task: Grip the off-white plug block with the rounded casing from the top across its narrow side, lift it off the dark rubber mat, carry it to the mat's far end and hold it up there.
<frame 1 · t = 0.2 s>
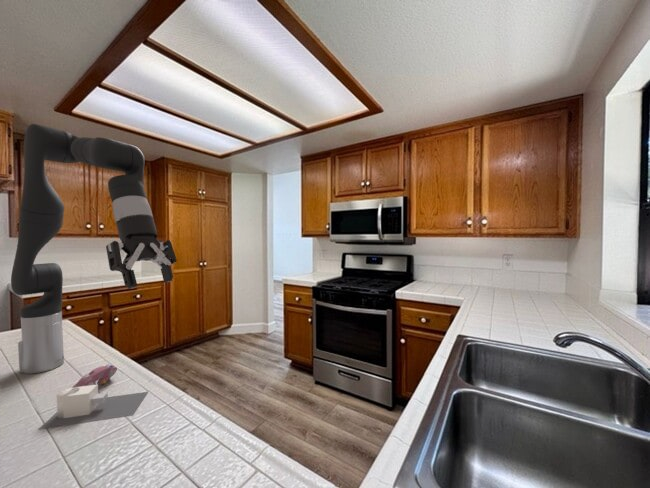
hand: (151, 284, 65), 31 cm above the countertop, tool tilted 20°, fingers open, 8 cm apart
rubber mat: (99, 410, 68), on the countertop
plug block: (79, 411, 66), resting on rubber mat
video game controller: (95, 388, 78), on the countertop
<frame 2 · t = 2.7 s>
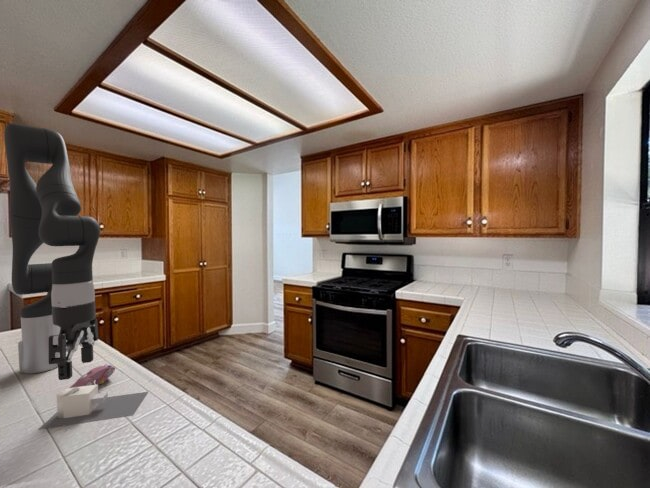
hand: (77, 369, 66), 11 cm above the countertop, tool pointing down, fingers open, 8 cm apart
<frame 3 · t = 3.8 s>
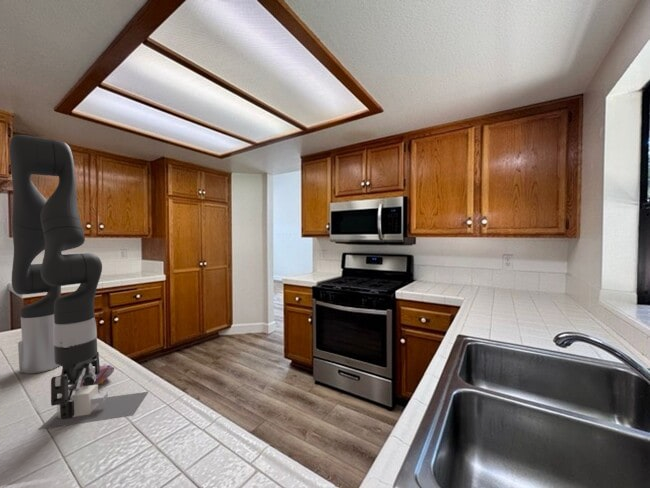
hand: (79, 406, 66), 2 cm above the countertop, tool pointing down, fingers open, 8 cm apart
nothing on the countertop moved.
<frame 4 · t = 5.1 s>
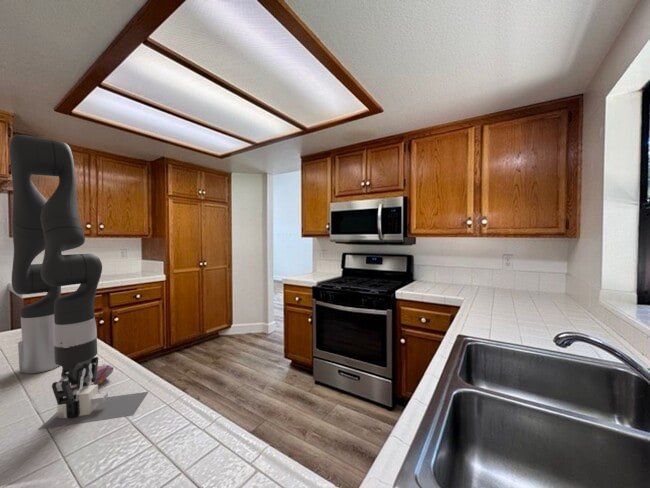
hand: (79, 410, 66), 1 cm above the countertop, tool pointing down, fingers closed on plug block, 4 cm apart
plug block: (79, 411, 66), point 1 cm above the countertop, touching gripper, rubber mat
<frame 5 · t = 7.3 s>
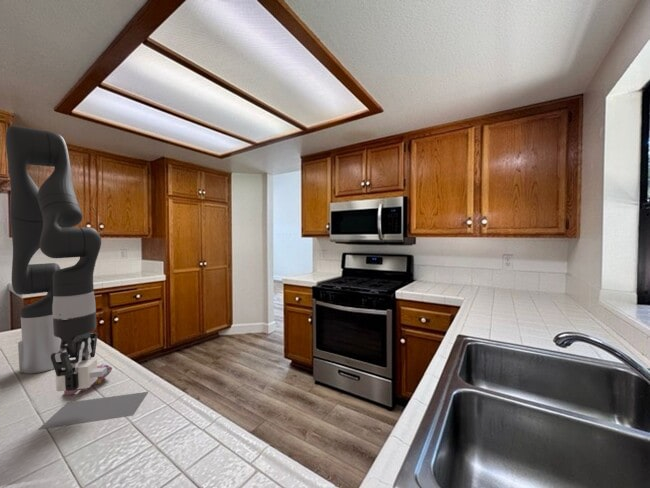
hand: (78, 384, 66), 7 cm above the countertop, tool pointing down, fingers closed on plug block, 4 cm apart
plug block: (78, 385, 66), point 7 cm above the countertop, touching gripper
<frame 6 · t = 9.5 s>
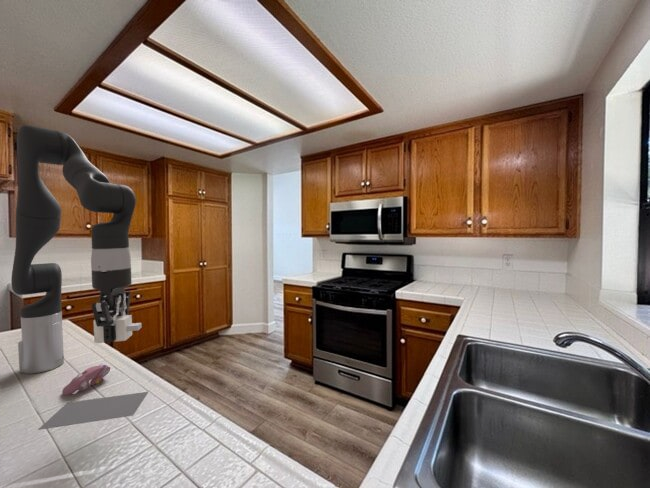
hand: (114, 337, 68), 17 cm above the countertop, tool pointing down, fingers closed on plug block, 4 cm apart
plug block: (114, 338, 68), point 17 cm above the countertop, touching gripper
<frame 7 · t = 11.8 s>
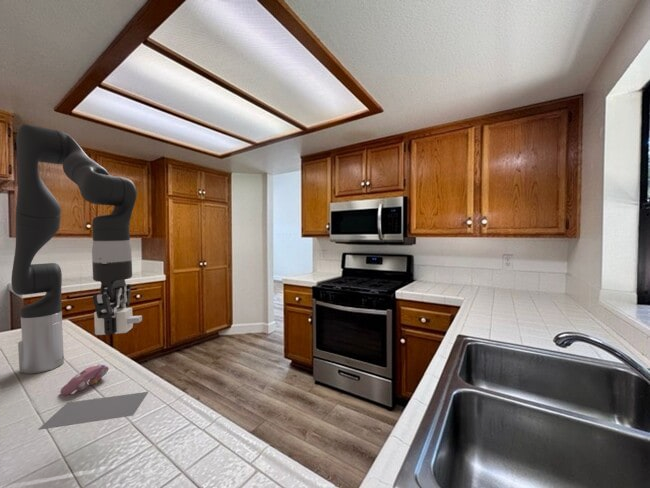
hand: (115, 330, 68), 19 cm above the countertop, tool pointing down, fingers closed on plug block, 4 cm apart
plug block: (115, 331, 68), point 19 cm above the countertop, touching gripper
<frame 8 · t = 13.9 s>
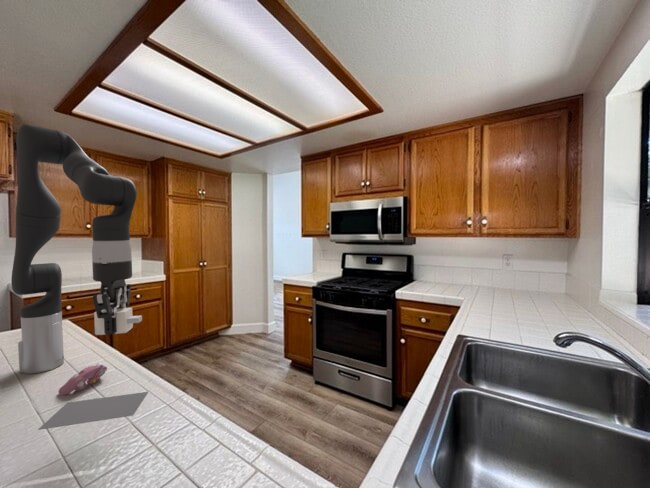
hand: (115, 330, 68), 19 cm above the countertop, tool pointing down, fingers closed on plug block, 4 cm apart
plug block: (115, 331, 68), point 19 cm above the countertop, touching gripper
at the end: the gripper is holding plug block; plug block point 18.9 cm above the countertop; plug block inside the target area on the rubber mat (0.0 cm from its centre), point 18.9 cm above the rubber mat's base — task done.
